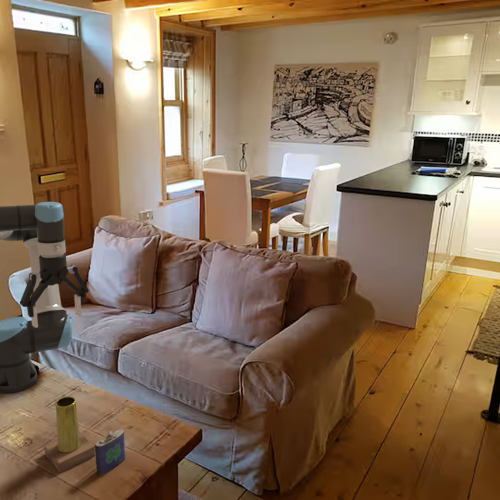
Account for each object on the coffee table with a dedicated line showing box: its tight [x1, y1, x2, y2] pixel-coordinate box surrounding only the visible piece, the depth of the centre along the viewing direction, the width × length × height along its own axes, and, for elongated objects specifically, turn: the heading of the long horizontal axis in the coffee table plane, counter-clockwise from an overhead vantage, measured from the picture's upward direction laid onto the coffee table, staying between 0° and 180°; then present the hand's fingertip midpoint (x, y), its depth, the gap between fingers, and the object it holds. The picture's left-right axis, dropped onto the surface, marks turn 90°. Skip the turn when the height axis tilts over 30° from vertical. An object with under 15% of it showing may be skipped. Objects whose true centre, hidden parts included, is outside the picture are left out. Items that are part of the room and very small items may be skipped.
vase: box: [55, 396, 81, 453], centre depth 132 cm, size 6×6×14 cm
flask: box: [94, 429, 126, 476], centre depth 130 cm, size 9×3×11 cm, turn 144°
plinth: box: [43, 430, 96, 473], centre depth 134 cm, size 10×10×3 cm
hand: (57, 320), depth 147 cm, fingers open, 13 cm apart
